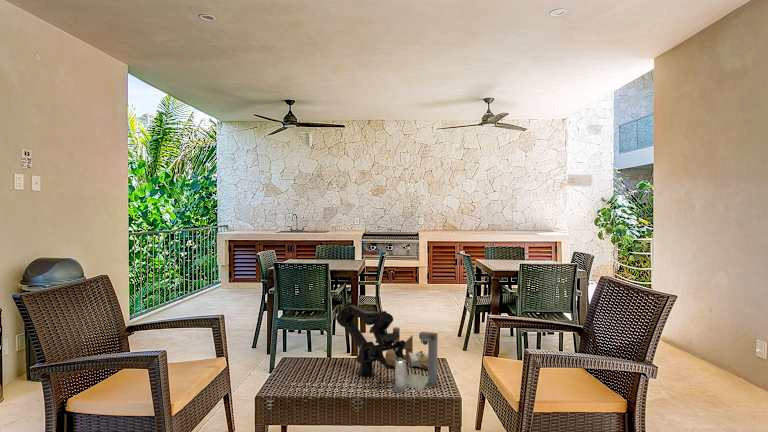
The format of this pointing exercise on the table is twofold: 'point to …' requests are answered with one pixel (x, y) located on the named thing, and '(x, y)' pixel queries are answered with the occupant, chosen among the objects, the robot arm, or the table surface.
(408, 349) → the brown angular piece
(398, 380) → the cocktail shaker
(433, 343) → the press
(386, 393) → the table surface
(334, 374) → the table surface
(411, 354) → the ceramic sculpture
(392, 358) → the natural sponge
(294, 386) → the table surface
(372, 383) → the table surface
